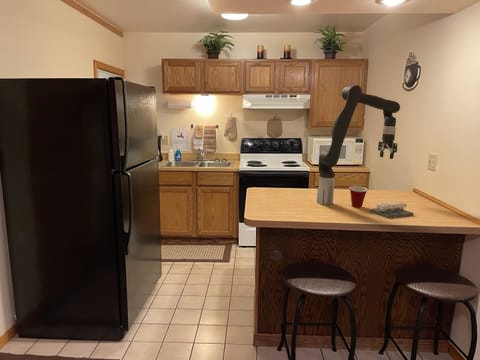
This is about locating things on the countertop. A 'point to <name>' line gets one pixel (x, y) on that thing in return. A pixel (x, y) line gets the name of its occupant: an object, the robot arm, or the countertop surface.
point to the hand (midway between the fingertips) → (386, 158)
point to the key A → (382, 207)
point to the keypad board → (392, 212)
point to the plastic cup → (357, 195)
